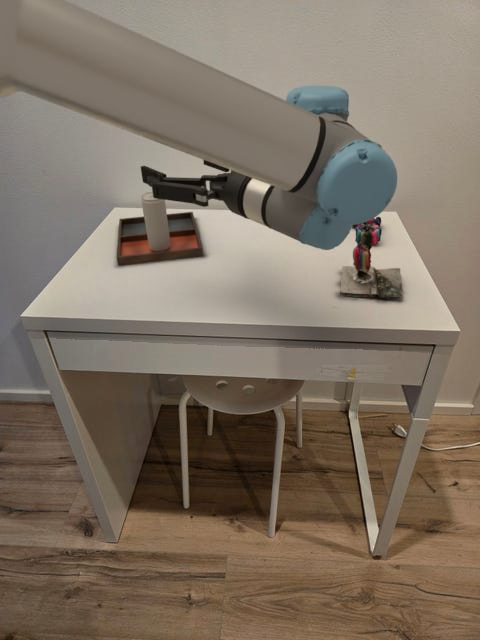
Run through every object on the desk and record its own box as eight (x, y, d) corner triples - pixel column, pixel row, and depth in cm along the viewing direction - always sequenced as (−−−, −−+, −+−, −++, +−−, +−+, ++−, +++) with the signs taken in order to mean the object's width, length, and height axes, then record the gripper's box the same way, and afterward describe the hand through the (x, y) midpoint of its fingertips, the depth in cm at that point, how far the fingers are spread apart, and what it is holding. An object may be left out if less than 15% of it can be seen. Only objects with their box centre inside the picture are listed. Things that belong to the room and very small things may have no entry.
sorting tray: (118, 265, 92) (116, 257, 91) (120, 225, 108) (119, 218, 106) (203, 256, 94) (202, 248, 93) (193, 218, 110) (192, 211, 109)
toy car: (350, 223, 106) (352, 208, 103) (377, 223, 105) (380, 208, 103) (359, 246, 96) (361, 230, 94) (388, 246, 96) (391, 230, 93)
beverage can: (173, 243, 98) (167, 191, 91) (167, 253, 94) (159, 200, 87) (153, 242, 99) (145, 190, 92) (146, 252, 95) (137, 199, 88)
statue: (340, 301, 82) (339, 227, 73) (342, 274, 89) (342, 204, 80) (402, 301, 79) (409, 225, 70) (399, 274, 86) (405, 201, 77)
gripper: (195, 245, 62) (118, 203, 74) (309, 197, 75) (227, 169, 88) (191, 193, 57) (109, 158, 70) (313, 153, 71) (226, 130, 83)
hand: (175, 164), depth 79 cm, fingers open, 13 cm apart
